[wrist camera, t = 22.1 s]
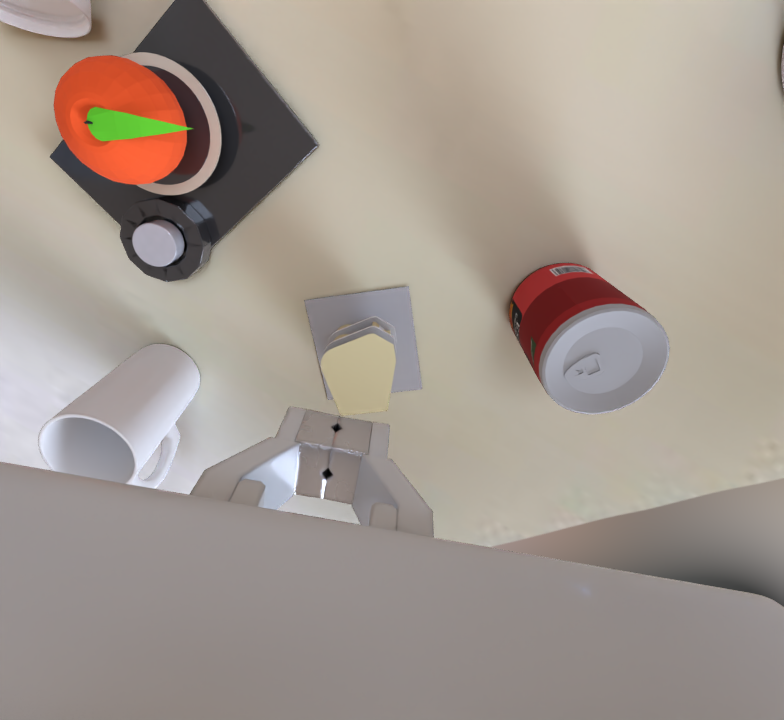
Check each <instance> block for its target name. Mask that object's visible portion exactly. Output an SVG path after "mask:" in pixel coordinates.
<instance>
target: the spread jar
mask: <svg viewBox="0 0 784 720" xmlns="http://www.w3.org/2000/svg"><path fill="white" fill-rule="evenodd" d="M0 21H2V22H4V23H7V24H9V25H12V26H15V27H18V28H20V29H23V30H27V31H30V32H34V33H38V34H42V35H47V36H53V37H62V38H76V37H81V36H84V35H86V34H88V33H89V32H90V30H91V26H92V22H91V2H90V0H0Z"/></svg>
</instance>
